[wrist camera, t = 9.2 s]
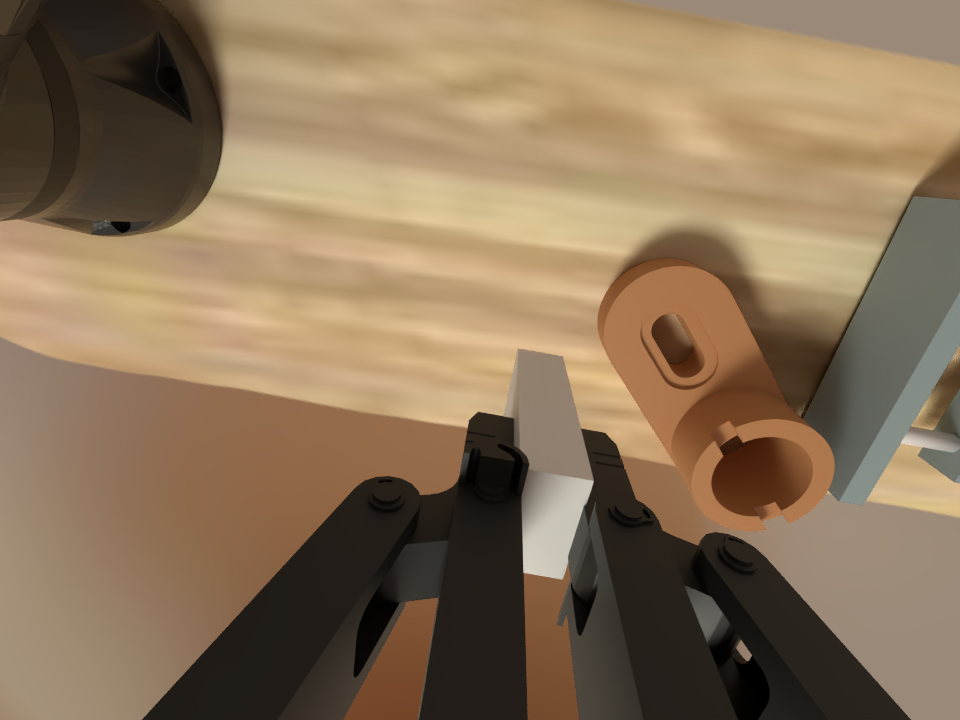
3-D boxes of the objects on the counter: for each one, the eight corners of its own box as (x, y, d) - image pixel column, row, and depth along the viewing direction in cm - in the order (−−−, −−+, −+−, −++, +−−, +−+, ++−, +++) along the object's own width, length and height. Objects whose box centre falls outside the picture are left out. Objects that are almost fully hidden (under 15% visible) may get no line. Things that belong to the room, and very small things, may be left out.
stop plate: (788, 448, 35) (838, 501, 30) (913, 196, 28) (1010, 204, 23) (907, 469, 35) (981, 527, 30) (1062, 222, 28) (1196, 236, 23)
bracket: (793, 436, 36) (854, 496, 29) (689, 484, 38) (724, 549, 31) (688, 232, 31) (733, 251, 24) (575, 301, 33) (589, 334, 26)
